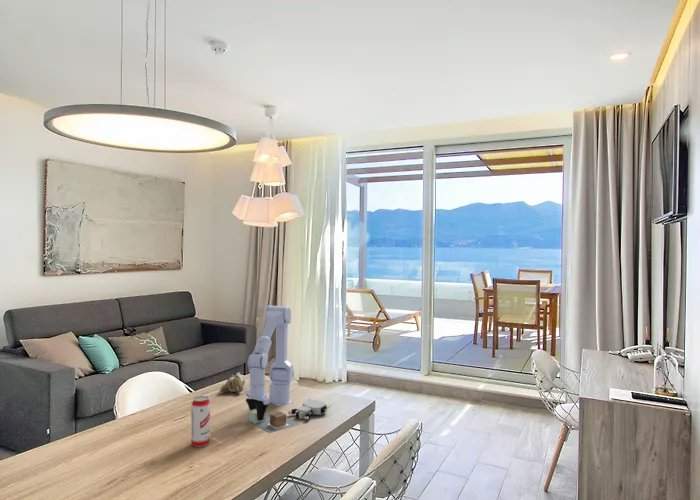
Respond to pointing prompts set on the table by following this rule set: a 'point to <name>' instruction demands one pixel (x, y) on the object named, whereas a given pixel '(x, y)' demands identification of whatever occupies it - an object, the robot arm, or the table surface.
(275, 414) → the walnut block
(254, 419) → the sage block
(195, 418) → the beer can
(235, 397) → the table surface
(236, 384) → the ceramic sculpture
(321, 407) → the robot toy
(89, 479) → the table surface
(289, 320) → the robot arm
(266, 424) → the board
